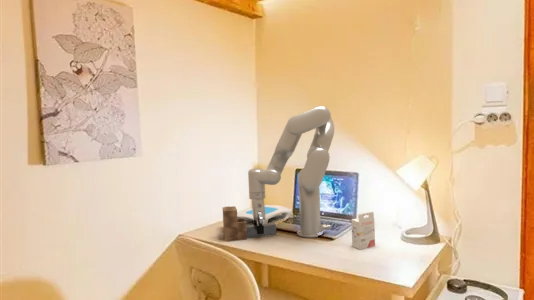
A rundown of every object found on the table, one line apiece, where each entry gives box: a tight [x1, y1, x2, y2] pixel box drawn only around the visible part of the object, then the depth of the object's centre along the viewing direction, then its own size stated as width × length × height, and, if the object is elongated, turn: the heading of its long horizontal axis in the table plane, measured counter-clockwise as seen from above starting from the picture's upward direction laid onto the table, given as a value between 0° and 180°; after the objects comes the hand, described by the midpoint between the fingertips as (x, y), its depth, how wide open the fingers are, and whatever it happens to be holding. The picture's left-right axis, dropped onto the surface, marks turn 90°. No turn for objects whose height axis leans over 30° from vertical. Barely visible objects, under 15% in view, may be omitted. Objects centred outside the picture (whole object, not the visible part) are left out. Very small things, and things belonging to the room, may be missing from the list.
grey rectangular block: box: [246, 222, 277, 239], centre depth 180 cm, size 17×4×7 cm, turn 101°
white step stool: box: [237, 204, 293, 225], centre depth 204 cm, size 21×28×6 cm
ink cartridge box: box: [350, 211, 376, 250], centre depth 159 cm, size 9×5×15 cm, turn 117°
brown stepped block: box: [222, 206, 248, 242], centre depth 184 cm, size 10×22×14 cm, turn 10°
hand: (258, 230), depth 180 cm, fingers open, 9 cm apart
